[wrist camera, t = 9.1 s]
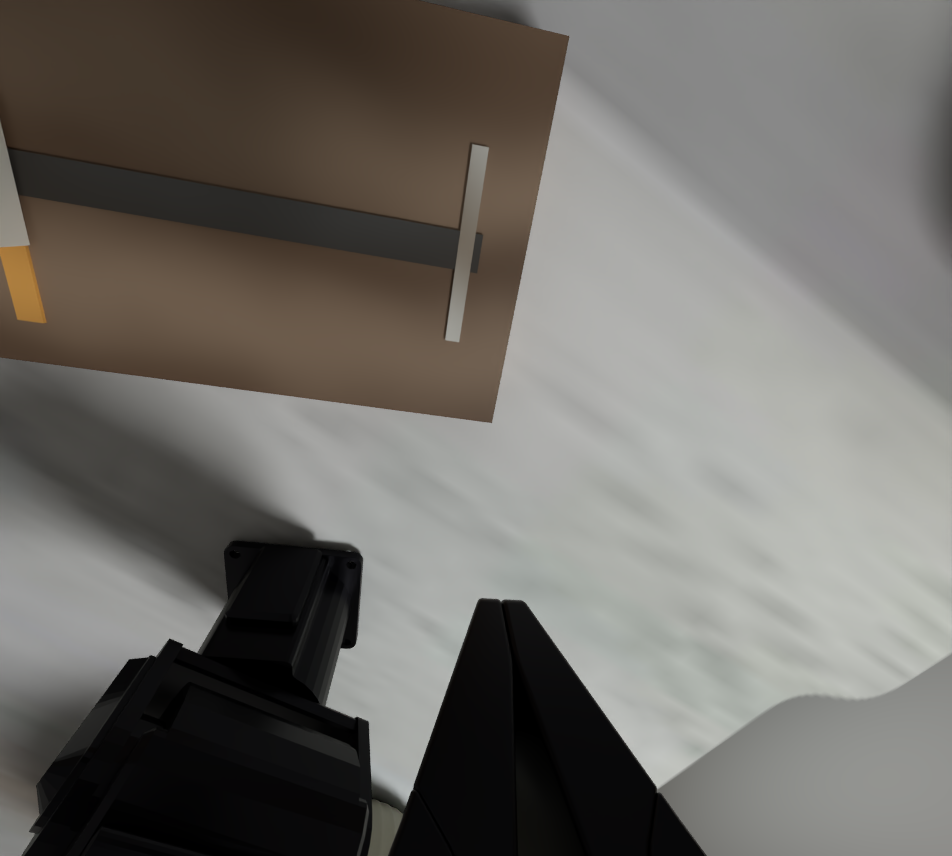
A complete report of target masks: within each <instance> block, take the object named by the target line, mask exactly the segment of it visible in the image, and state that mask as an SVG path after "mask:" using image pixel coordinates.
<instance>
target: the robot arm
mask: <svg viewBox="0 0 952 856" xmlns="http://www.w3.org/2000/svg"><path fill="white" fill-rule="evenodd" d="M234 550H235V551H238V552H239V553H237V552H235V551H234ZM224 559H225V570H226V581H227V592H228V601H227V603H226V605H225V606H224V608H223V610H222V612H221V613H220V615H219V617H218V618H217V620H216V622H215V623H214V625H213V627H212V629H211V630H210V632H209V634H208V635H207V637H206V639H205V641H204V642H203V644H202V646H201V647H200V649H199V651H198V653H196V652H193V651H191V650H188V649H186V648H184V647H182V646H183V644H181V643H179V642H177V641H174V640H172V639H169V640H168V641H167V643H166V644H165V645H164V647H163V648H162V649H161V651H160V652H159V653H158V655H157V656H156V657H155V656H152V655H151V656H149V657H147V658H138V659H129V660H128V662H127V663H126V664H125V666H124V667H123V669H122V670H121V671H120V673H119V674H118V675H117V677H116V678H115V679H114V681H113V682H112V684H111V685H110V686H109V688H108V689H107V690H106V692H105V693H104V695H103V696H102V697H101V699H100V700H99V701H98V703H97V704H96V705H95V707H94V708H93V709H92V711H91V712H90V713H89V715H88V716H87V718H86V719H85V720H84V722H83V723H82V724H81V726H80V727H79V728H78V730H77V731H76V732H75V734H74V735H73V736H72V738H71V739H70V740H69V742H68V743H67V744H66V746H65V747H64V748H63V750H62V751H61V752H60V754H59V755H58V757H57V758H56V759H55V761H54V762H53V763H52V765H51V766H50V767H49V769H48V770H47V771H46V773H45V774H44V776H43V777H42V778H41V780H40V781H39V783H38V784H37V785H36V788H37V796H38V805H39V814H40V815H39V817H38V818H37V820H36V821H35V823H34V824H33V826H32V827H31V829H30V831H29V832H31V833H35V835H34V837H33V838H32V840H31V841H30V843H29V845H28V846H27V848H26V849H25V851H24V852H23V854H22V856H368V852H369V847H370V841H371V833H372V815H373V814H372V790H371V766H370V743H369V722H368V721H366V720H364V719H361V718H359V717H356V718H352V717H350V716H348V715H345V714H343V713H340V712H338V711H336V710H333V709H331V708H328V707H326V706H325V705H326V701H327V698H328V694H329V690H330V686H331V682H332V678H333V674H334V671H335V667H336V663H337V659H338V655H339V651H340V648H344V649H348V648H352V647H354V646H355V644H356V640H357V635H358V622H359V609H360V596H361V583H362V570H363V557H362V556H361V555H360V554H358V553H356V552H349V551H339V550H328V549H318V548H308V547H297V546H287V545H276V544H266V543H256V542H245V541H233V542H230V544H229V545H228V546H227V548H226V549H225V551H224ZM350 561H352V562H355V563H354V564H352V563H350ZM656 792H657V788H656V785H655V784H654V783H653V781H652V780H651V778H650V777H649V776H648V774H647V773H646V771H645V770H644V769H643V767H642V766H641V764H640V763H639V762H638V760H637V759H636V757H635V756H634V755H633V753H632V752H631V750H630V749H629V748H628V746H627V745H626V743H625V742H624V741H623V739H622V738H621V736H620V735H619V733H618V732H617V731H616V729H615V728H614V726H613V725H612V724H611V722H610V721H609V719H608V718H607V717H606V715H605V714H604V712H603V711H602V710H601V708H600V707H599V705H598V704H597V703H596V701H595V700H594V698H593V697H592V696H591V694H590V693H589V691H588V690H587V689H586V687H585V686H584V684H583V683H582V682H581V680H580V679H579V677H578V676H577V674H576V673H575V672H574V670H573V669H572V667H571V666H570V665H569V663H568V662H567V660H566V659H565V658H564V656H563V655H562V653H561V652H560V651H559V649H558V648H557V646H556V645H555V644H554V642H553V641H552V639H551V638H550V637H549V635H548V634H547V632H546V631H545V630H544V628H543V627H542V625H541V624H540V622H539V621H538V620H537V618H536V617H535V615H534V614H533V613H532V611H531V610H530V608H529V607H528V606H527V604H526V603H525V602H524V601H521V600H503V601H502V602H501V601H500V600H499V599H486V598H481V599H479V600H478V602H477V605H476V607H475V610H474V613H473V616H472V619H471V622H470V625H469V628H468V630H467V633H466V636H465V639H464V642H463V645H462V648H461V651H460V653H459V656H458V659H457V662H456V665H455V668H454V671H453V674H452V676H451V679H450V682H449V685H448V688H447V691H446V694H445V697H444V699H443V702H442V705H441V708H440V711H439V714H438V717H437V720H436V722H435V725H434V728H433V731H432V734H431V737H430V740H429V743H428V745H427V748H426V751H425V754H424V757H423V760H422V763H421V766H420V769H419V771H418V774H417V777H416V780H415V783H414V788H413V791H411V793H410V796H409V799H408V802H407V805H406V808H405V811H404V814H403V816H402V819H401V822H400V825H399V828H398V830H397V833H396V835H395V838H394V841H393V843H392V846H391V849H390V851H389V854H388V856H707V855H706V854H705V853H704V851H703V850H702V849H701V847H700V846H699V845H698V843H697V842H696V841H695V839H694V838H693V837H692V835H691V834H690V833H689V831H688V830H687V829H686V827H685V826H684V824H683V823H682V822H681V820H680V819H679V818H678V816H677V815H676V813H675V812H674V811H673V809H672V808H671V806H670V805H669V803H668V802H667V801H666V799H665V798H664V796H663V795H662V794H661V793H660V792H658V793H656Z"/></svg>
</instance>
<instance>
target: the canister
mask: <svg viewBox="0 0 952 856" xmlns="http://www.w3.org/2000/svg"><path fill="white" fill-rule="evenodd" d="M372 814H373V815H372V833H371V841H370V847H369V852H368V856H388V854H389V851H390V849H391V846H392V843H393V841H394V838H395V835H396V833H397V830H398V828H399V825H400V822H401V819H402V816H403V813H401V812H400V811H399V810H398V809H397V808H394V807H390V806H389V804H386V803H381V802H379V801H378V800H375V799H372Z"/></svg>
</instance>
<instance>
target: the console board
mask: <svg viewBox="0 0 952 856" xmlns="http://www.w3.org/2000/svg"><path fill="white" fill-rule="evenodd" d="M568 41H569V36H566V35H562V34H558V33H554V32H550V31H545V30H541V29H537V28H533V27H529V26H524V25H520V24H516V23H512V22H508V21H503V20H499V19H495V18H491V17H487V16H483V15H478V14H474V13H470V12H466V11H462V10H457V9H453V8H449V7H445V6H441V5H436V4H432V3H428V2H424V1H420V0H0V122H1V126H2V130H3V134H4V138H5V142H6V147H7V151H8V155H9V159H10V163H11V168H12V172H13V176H14V180H15V184H16V189H17V193H18V197H19V201H20V205H21V209H22V214H23V218H24V222H25V226H26V230H27V235H28V239H29V243H30V245H27V246H13V247H0V357H1V358H9V359H16V360H24V361H31V362H39V363H46V364H54V365H61V366H69V367H76V368H84V369H91V370H99V371H106V372H114V373H121V374H129V375H136V376H144V377H151V378H159V379H166V380H174V381H181V382H189V383H196V384H204V385H211V386H219V387H226V388H234V389H241V390H249V391H256V392H264V393H271V394H279V395H286V396H294V397H301V398H309V399H316V400H324V401H331V402H339V403H346V404H354V405H361V406H369V407H376V408H384V409H391V410H399V411H406V412H414V413H421V414H429V415H436V416H444V417H451V418H459V419H466V420H474V421H481V422H489V423H492V419H493V414H494V409H495V404H496V399H497V394H498V389H499V384H500V379H501V374H502V369H503V364H504V360H505V355H506V350H507V345H508V340H509V335H510V330H511V325H512V320H513V315H514V310H515V305H516V300H517V295H518V290H519V285H520V280H521V275H522V270H523V265H524V260H525V255H526V250H527V245H528V240H529V235H530V230H531V225H532V220H533V215H534V210H535V205H536V200H537V195H538V190H539V185H540V180H541V175H542V170H543V165H544V160H545V155H546V150H547V145H548V140H549V135H550V130H551V125H552V120H553V115H554V110H555V105H556V100H557V95H558V90H559V85H560V80H561V76H562V71H563V66H564V61H565V56H566V51H567V46H568Z"/></svg>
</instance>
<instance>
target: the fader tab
mask: <svg viewBox="0 0 952 856" xmlns="http://www.w3.org/2000/svg"><path fill="white" fill-rule="evenodd" d="M27 245H30V243H29V239H28V235H27V230H26V226H25V222H24V218H23V214H22V209H21V205H20V201H19V197H18V193H17V189H16V184H15V180H14V176H13V172H12V168H11V163H10V159H9V155H8V151H7V147H6V142H5V138H4V134H3V130H2V126H1V122H0V247H13V246H27Z"/></svg>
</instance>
